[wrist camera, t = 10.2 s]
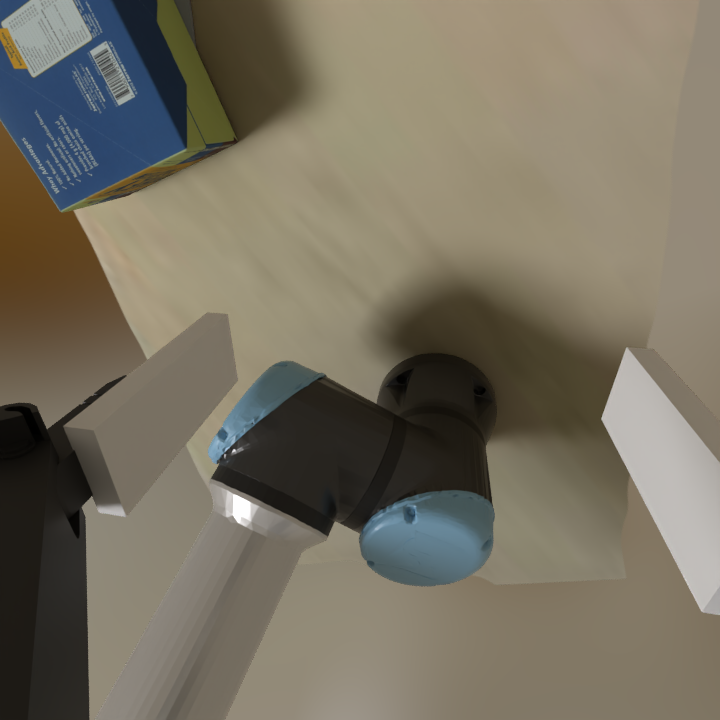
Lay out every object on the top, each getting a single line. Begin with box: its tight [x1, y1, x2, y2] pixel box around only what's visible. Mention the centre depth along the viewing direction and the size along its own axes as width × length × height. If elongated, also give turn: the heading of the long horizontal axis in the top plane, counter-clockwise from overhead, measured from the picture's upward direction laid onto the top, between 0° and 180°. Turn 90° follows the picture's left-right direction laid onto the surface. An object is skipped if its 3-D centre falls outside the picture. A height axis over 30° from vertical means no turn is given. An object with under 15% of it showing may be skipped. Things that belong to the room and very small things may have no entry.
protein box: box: [0, 0, 238, 212], centre depth 39 cm, size 10×15×16 cm
